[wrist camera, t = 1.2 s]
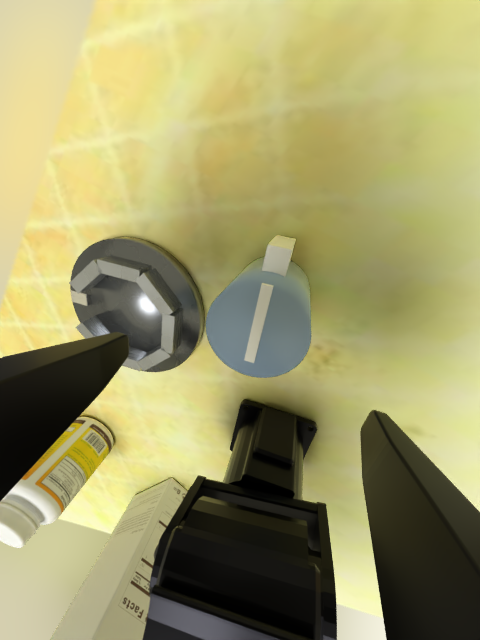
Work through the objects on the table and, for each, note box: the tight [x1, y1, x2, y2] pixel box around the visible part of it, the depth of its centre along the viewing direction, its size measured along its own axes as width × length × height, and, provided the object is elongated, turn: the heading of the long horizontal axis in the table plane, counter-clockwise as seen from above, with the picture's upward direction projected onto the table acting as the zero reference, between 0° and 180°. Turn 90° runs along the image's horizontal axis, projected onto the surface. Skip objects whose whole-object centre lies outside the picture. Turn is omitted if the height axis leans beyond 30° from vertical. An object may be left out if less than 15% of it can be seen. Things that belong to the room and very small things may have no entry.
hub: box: [70, 237, 204, 372], centre depth 19 cm, size 11×11×2 cm
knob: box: [206, 235, 311, 378], centre depth 14 cm, size 6×5×6 cm
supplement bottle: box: [0, 417, 113, 548], centre depth 25 cm, size 6×6×10 cm
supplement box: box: [50, 478, 188, 640], centre depth 25 cm, size 9×9×15 cm
